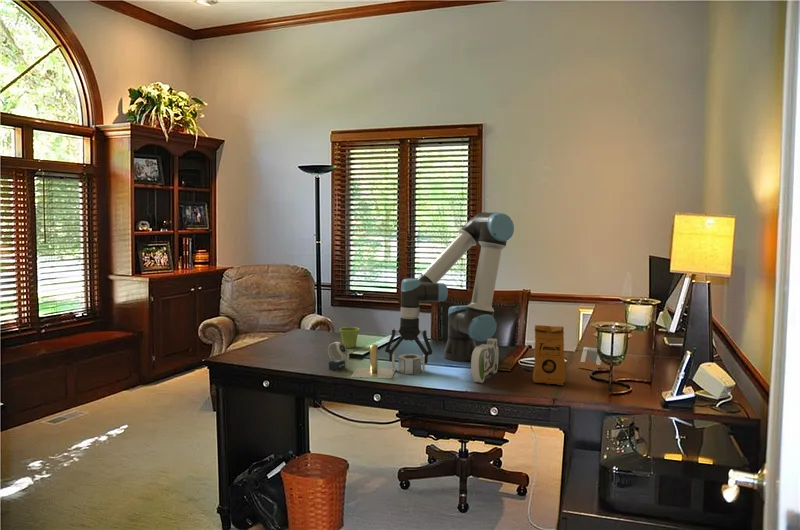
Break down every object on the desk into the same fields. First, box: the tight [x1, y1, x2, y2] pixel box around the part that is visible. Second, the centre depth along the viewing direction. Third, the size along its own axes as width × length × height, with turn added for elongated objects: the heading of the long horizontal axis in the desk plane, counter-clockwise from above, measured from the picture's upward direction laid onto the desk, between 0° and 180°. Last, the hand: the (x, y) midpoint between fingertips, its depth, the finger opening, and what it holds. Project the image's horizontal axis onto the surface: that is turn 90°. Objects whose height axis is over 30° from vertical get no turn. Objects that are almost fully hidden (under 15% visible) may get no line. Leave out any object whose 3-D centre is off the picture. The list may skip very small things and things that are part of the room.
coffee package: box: [532, 324, 567, 386], centre depth 237 cm, size 10×12×22 cm
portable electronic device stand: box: [579, 346, 602, 366], centre depth 259 cm, size 9×8×8 cm
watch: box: [327, 341, 348, 372], centre depth 257 cm, size 6×8×11 cm
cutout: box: [470, 337, 499, 384], centre depth 244 cm, size 15×3×25 cm
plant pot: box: [339, 326, 360, 349], centre depth 298 cm, size 9×9×9 cm
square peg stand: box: [350, 344, 397, 379], centre depth 250 cm, size 16×14×11 cm
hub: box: [398, 353, 423, 375], centre depth 254 cm, size 9×9×6 cm
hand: (408, 370), depth 254 cm, fingers open, 12 cm apart
